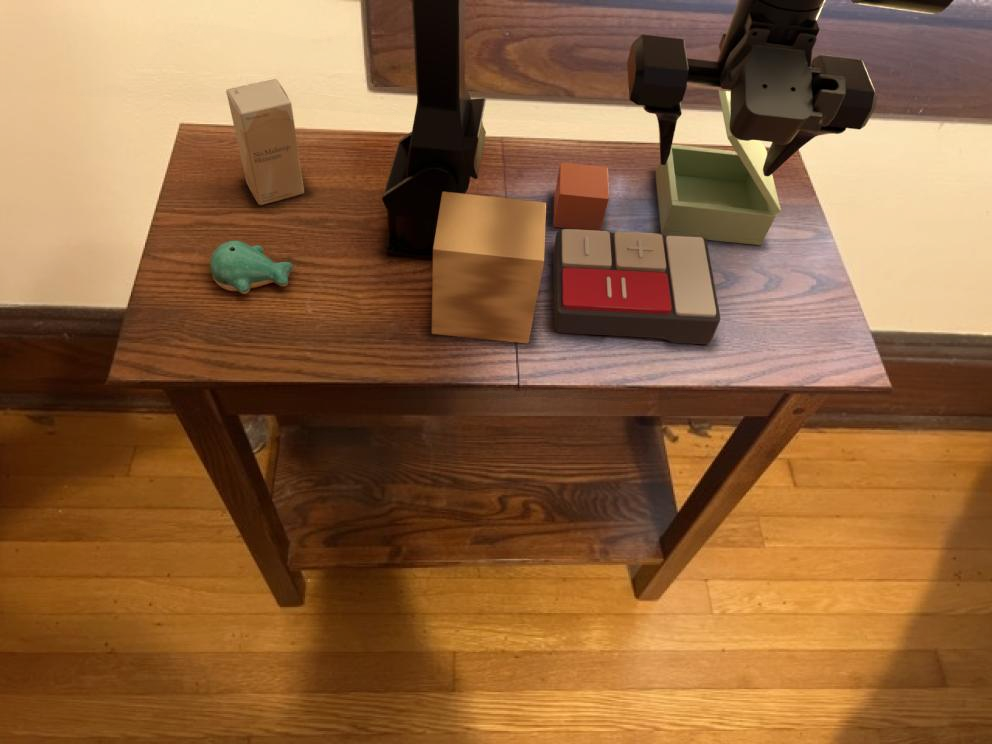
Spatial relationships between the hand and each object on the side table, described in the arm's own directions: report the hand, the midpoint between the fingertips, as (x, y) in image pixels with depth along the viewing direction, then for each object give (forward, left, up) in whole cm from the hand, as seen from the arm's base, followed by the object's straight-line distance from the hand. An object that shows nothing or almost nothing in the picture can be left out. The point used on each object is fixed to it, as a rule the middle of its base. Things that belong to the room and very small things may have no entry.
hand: (714, 167), depth 65 cm
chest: (+4, +10, -13) cm, 17 cm away
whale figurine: (-41, -7, -13) cm, 44 cm away
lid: (+6, +10, -4) cm, 12 cm away
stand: (-19, -8, -13) cm, 24 cm away
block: (-10, +7, -13) cm, 18 cm away
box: (-42, +6, -13) cm, 44 cm away
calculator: (-5, -4, -13) cm, 15 cm away
